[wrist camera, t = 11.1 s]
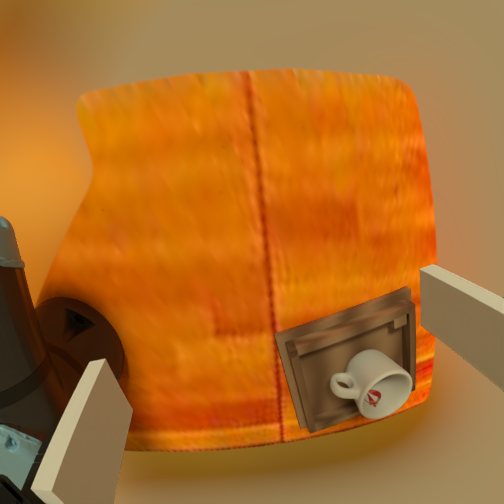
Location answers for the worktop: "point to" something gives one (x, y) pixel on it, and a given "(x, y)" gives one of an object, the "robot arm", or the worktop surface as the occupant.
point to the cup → (373, 384)
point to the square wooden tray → (344, 354)
